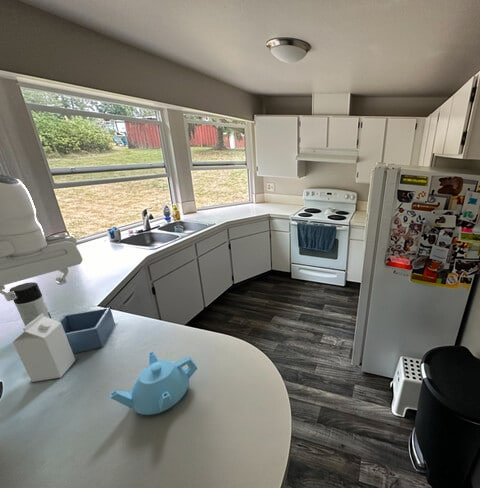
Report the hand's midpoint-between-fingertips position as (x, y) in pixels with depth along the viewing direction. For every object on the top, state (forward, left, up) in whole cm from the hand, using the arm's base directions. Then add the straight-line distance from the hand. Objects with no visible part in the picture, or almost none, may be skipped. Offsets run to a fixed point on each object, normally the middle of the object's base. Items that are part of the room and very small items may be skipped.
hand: (38, 291), depth 66 cm
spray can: (-19, +29, -30) cm, 46 cm away
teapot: (+26, -17, -30) cm, 43 cm away
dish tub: (-3, +19, -30) cm, 36 cm away
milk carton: (-6, +5, -30) cm, 31 cm away
